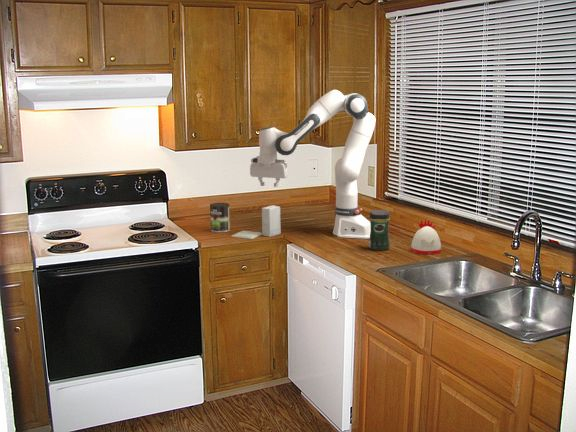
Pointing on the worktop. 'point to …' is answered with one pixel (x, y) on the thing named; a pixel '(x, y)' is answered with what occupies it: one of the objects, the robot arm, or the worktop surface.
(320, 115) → the robot arm
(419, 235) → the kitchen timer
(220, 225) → the coffee can
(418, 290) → the worktop surface
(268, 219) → the skincare box
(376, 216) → the coffee jar
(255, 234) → the plate
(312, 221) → the worktop surface
